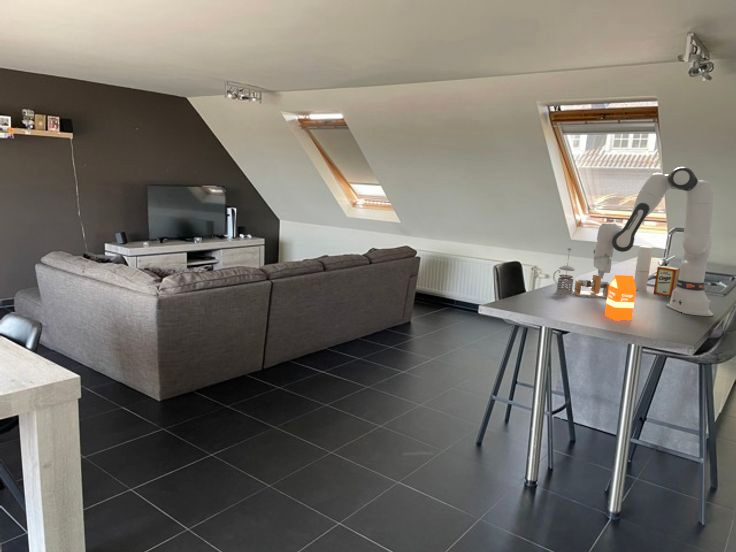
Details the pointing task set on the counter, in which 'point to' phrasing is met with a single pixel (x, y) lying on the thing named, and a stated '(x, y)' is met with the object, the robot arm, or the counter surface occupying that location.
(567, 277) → the french press
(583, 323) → the counter surface
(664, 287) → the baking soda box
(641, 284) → the cylindrical container
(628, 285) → the orange juice
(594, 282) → the pipe rig
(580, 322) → the counter surface
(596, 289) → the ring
